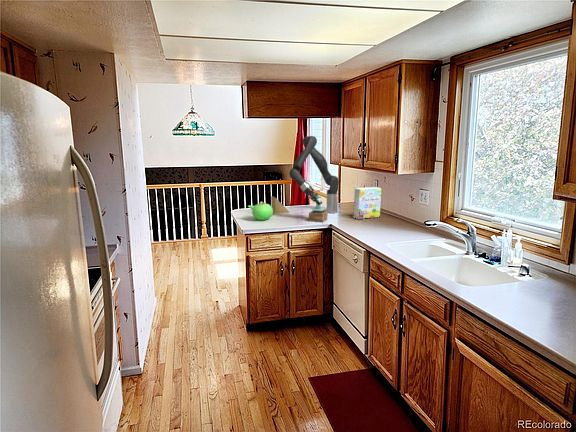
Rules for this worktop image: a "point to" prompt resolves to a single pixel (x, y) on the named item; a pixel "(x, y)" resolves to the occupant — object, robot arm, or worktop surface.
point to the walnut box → (318, 216)
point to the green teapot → (261, 211)
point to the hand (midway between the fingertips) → (320, 204)
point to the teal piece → (318, 207)
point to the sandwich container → (277, 206)
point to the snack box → (367, 202)
